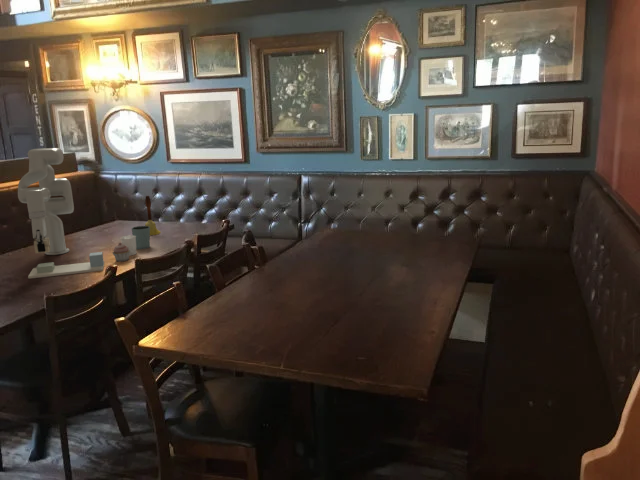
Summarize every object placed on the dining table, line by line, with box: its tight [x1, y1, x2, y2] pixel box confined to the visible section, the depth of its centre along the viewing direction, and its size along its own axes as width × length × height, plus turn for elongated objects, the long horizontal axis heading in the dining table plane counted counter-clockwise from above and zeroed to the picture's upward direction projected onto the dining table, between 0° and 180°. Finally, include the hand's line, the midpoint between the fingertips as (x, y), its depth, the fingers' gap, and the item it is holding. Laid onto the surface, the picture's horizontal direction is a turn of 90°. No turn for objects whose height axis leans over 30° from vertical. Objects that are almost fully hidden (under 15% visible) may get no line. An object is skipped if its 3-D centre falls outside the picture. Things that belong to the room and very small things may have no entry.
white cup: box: [120, 234, 137, 257], centre depth 301 cm, size 8×8×10 cm
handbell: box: [144, 195, 162, 237], centre depth 350 cm, size 12×12×25 cm
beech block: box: [33, 238, 51, 254], centre depth 267 cm, size 6×6×6 cm
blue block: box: [88, 251, 105, 267], centre depth 277 cm, size 6×6×6 cm
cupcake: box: [111, 242, 130, 263], centre depth 289 cm, size 9×9×10 cm
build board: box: [27, 261, 105, 279], centre depth 273 cm, size 15×34×4 cm, turn 109°
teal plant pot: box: [131, 225, 151, 250], centre depth 316 cm, size 10×10×12 cm
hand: (42, 249), depth 267 cm, fingers closed on beech block, 6 cm apart
